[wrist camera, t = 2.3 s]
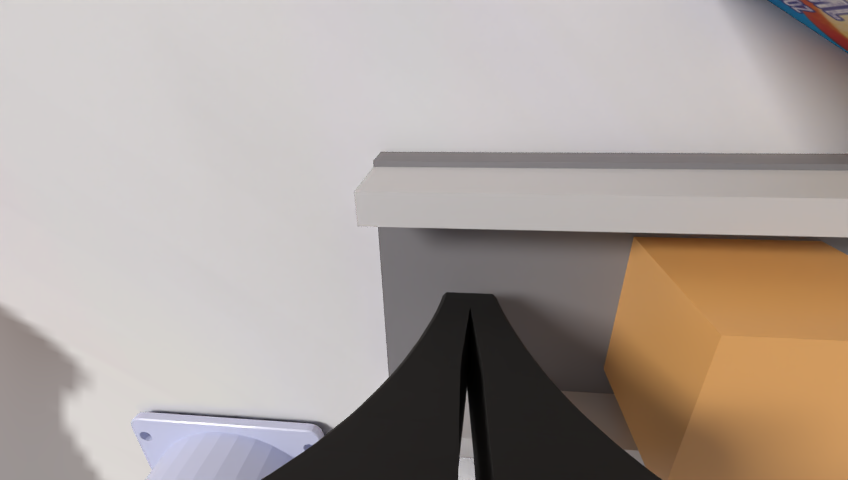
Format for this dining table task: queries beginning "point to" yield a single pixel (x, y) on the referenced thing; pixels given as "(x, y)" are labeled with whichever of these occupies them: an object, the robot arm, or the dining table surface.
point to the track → (572, 240)
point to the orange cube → (734, 358)
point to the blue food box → (821, 17)
